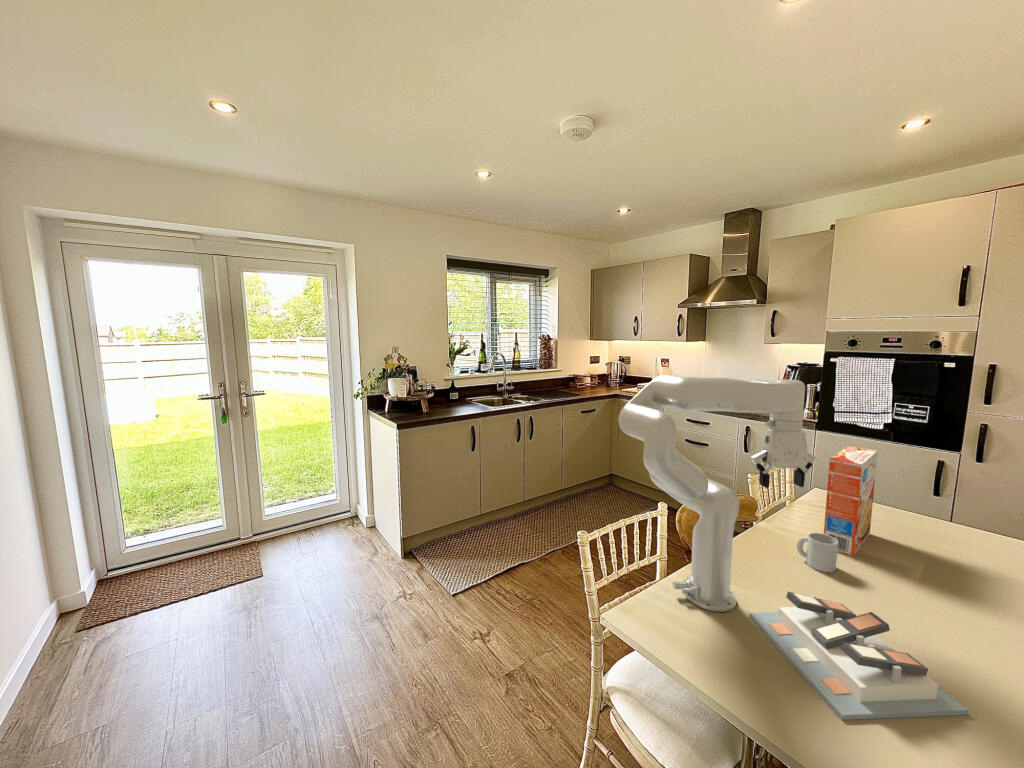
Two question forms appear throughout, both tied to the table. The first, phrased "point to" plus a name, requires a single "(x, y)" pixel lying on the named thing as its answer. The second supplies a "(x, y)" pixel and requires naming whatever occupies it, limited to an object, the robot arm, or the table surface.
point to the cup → (819, 551)
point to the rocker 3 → (883, 658)
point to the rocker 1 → (819, 605)
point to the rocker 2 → (849, 630)
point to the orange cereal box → (850, 497)
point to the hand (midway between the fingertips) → (781, 485)
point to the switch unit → (852, 671)
